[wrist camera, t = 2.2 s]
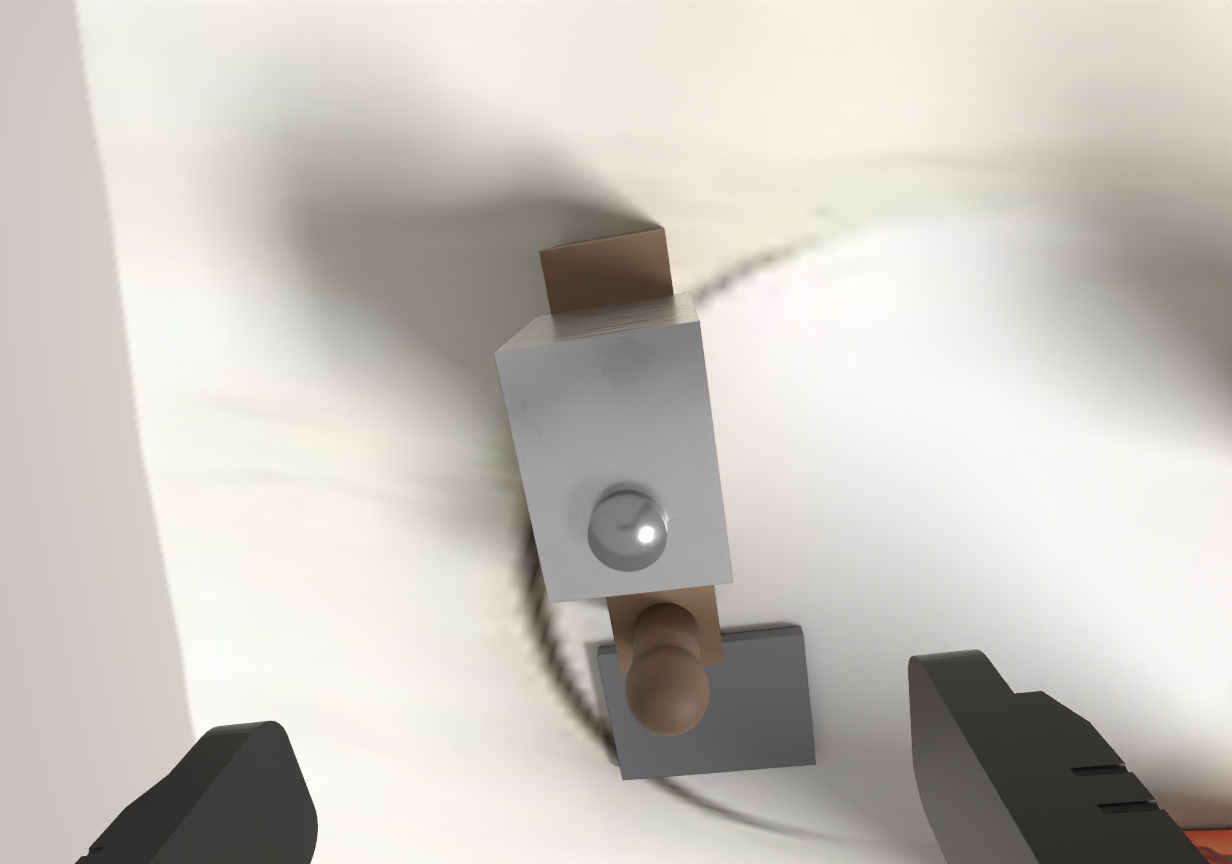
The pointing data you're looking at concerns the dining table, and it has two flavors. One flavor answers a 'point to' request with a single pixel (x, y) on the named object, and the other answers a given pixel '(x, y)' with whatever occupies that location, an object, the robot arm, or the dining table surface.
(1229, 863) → the cracker box
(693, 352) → the lever cap
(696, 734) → the rubber mat
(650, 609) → the body
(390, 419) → the dining table surface
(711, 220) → the dining table surface
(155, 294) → the dining table surface
